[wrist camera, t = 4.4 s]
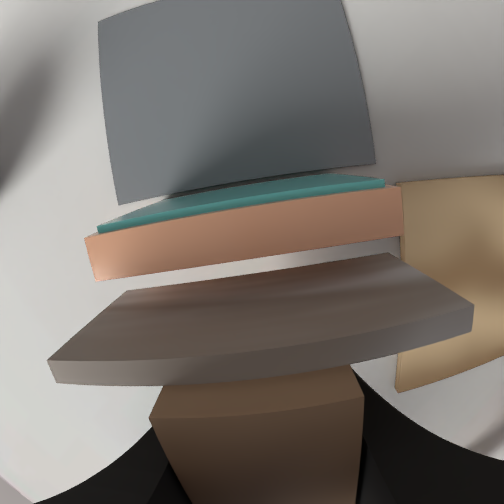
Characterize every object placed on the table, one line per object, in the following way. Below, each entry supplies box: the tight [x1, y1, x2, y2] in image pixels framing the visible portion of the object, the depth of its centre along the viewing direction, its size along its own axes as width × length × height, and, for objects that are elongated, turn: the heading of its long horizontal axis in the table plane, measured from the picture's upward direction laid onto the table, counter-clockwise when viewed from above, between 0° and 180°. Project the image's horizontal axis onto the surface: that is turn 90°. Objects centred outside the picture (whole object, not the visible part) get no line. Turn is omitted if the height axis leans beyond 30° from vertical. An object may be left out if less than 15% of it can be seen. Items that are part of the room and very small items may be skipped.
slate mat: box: [98, 0, 376, 205], centre depth 12 cm, size 10×12×1 cm
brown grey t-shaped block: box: [47, 253, 475, 504], centre depth 8 cm, size 6×9×6 cm, turn 99°
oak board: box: [395, 175, 504, 393], centre depth 14 cm, size 12×12×1 cm
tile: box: [84, 173, 404, 282], centre depth 11 cm, size 1×8×7 cm, turn 99°
